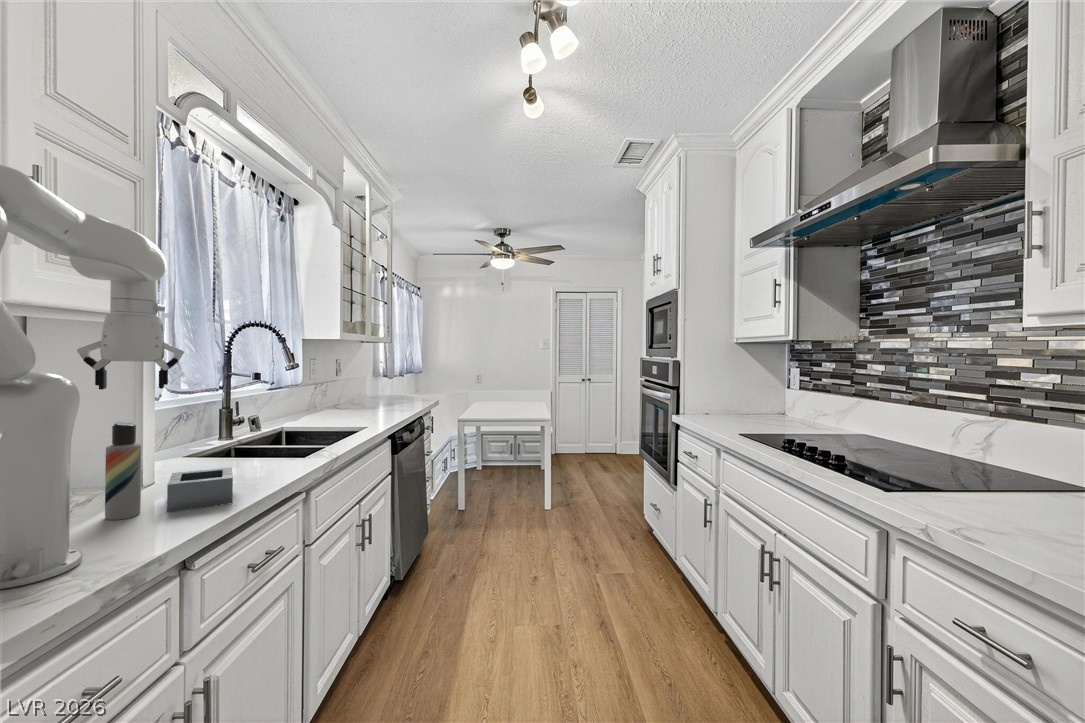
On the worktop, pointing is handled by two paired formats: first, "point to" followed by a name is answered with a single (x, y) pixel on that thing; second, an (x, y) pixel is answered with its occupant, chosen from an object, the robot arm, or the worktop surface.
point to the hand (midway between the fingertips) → (132, 388)
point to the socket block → (199, 489)
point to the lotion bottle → (123, 473)
